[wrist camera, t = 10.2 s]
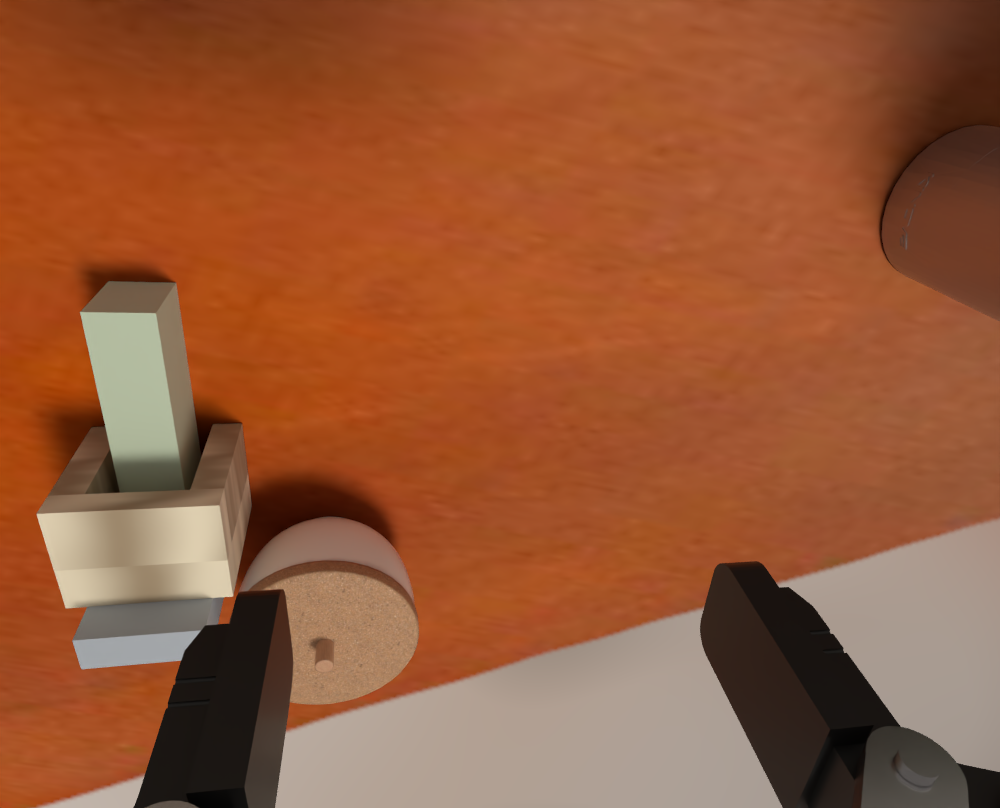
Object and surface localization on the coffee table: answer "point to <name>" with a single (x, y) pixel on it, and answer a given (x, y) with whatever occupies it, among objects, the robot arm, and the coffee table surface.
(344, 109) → the coffee table surface
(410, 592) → the lidded jar
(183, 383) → the pale green rectangular bar
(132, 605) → the wall
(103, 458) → the block
